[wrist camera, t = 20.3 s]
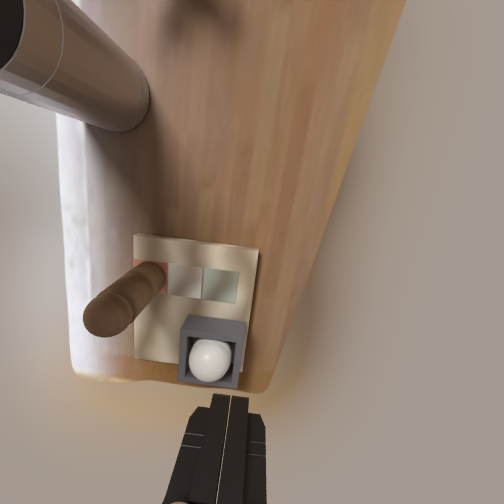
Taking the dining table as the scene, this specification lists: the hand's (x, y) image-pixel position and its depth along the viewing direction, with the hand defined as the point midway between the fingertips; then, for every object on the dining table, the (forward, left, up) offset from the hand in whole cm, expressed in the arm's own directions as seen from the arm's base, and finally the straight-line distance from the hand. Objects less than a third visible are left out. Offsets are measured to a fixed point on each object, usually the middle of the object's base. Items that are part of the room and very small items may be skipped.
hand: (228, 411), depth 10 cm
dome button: (-4, -16, -25) cm, 30 cm away
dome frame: (-4, -16, -26) cm, 30 cm away
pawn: (-14, -6, -25) cm, 30 cm away
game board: (-8, -10, -27) cm, 30 cm away
